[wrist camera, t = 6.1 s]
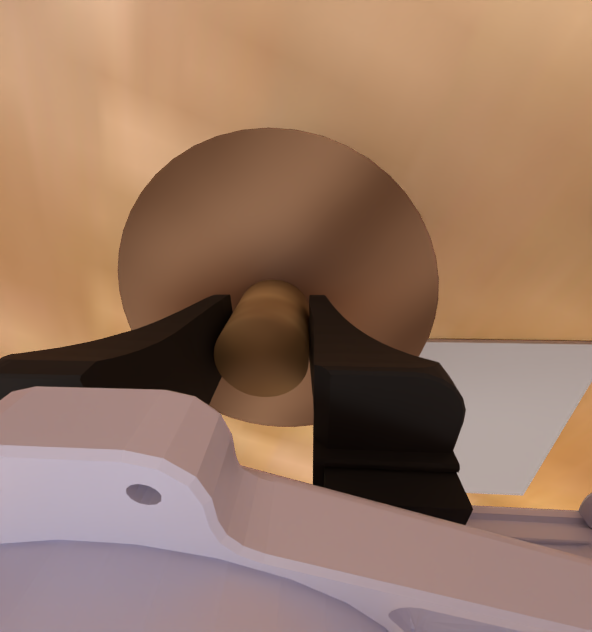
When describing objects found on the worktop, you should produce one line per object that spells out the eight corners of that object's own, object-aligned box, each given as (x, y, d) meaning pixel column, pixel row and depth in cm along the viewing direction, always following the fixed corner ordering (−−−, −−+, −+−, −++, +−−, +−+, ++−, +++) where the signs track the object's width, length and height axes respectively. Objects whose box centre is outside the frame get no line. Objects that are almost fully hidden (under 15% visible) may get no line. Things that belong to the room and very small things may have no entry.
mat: (608, 341, 19) (613, 344, 19) (520, 491, 27) (522, 495, 27) (352, 337, 20) (353, 340, 20) (340, 482, 28) (340, 486, 28)
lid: (504, 256, 12) (597, 297, 8) (322, 448, 18) (324, 527, 14) (191, 38, 9) (102, -57, 6) (98, 345, 15) (23, 405, 11)
